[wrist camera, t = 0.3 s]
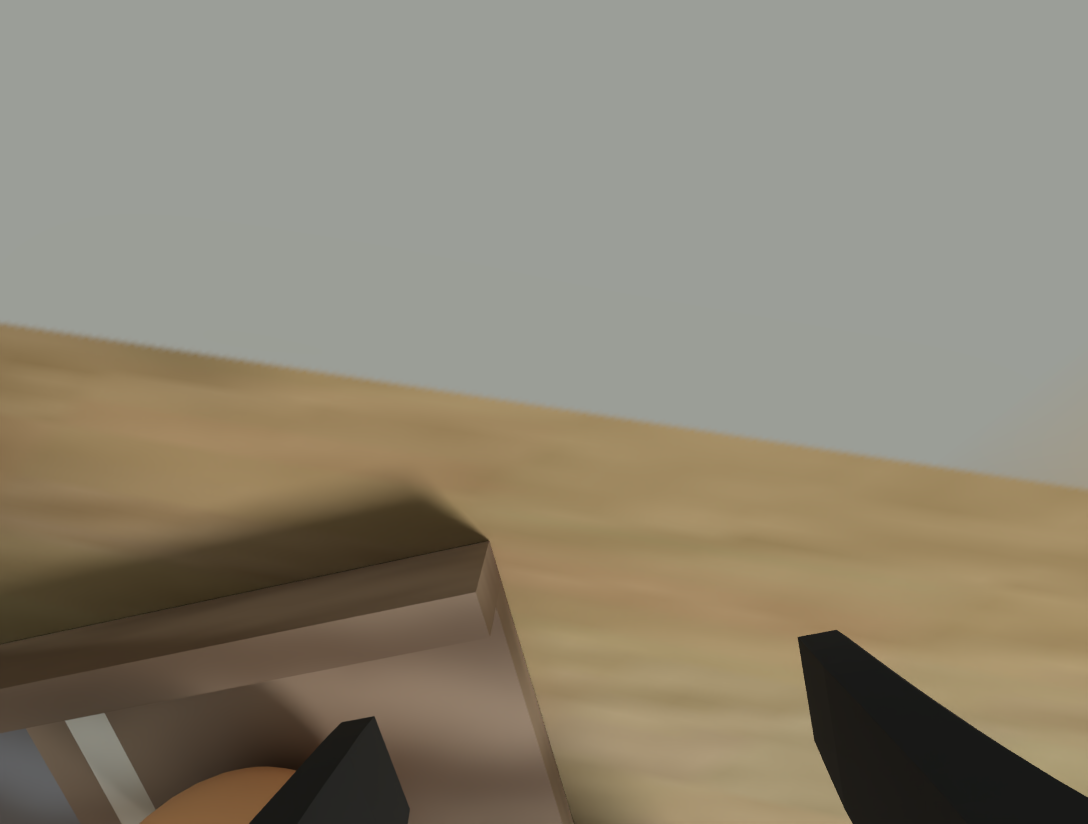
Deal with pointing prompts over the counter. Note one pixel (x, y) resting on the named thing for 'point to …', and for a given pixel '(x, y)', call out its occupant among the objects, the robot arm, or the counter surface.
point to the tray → (285, 697)
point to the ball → (223, 798)
